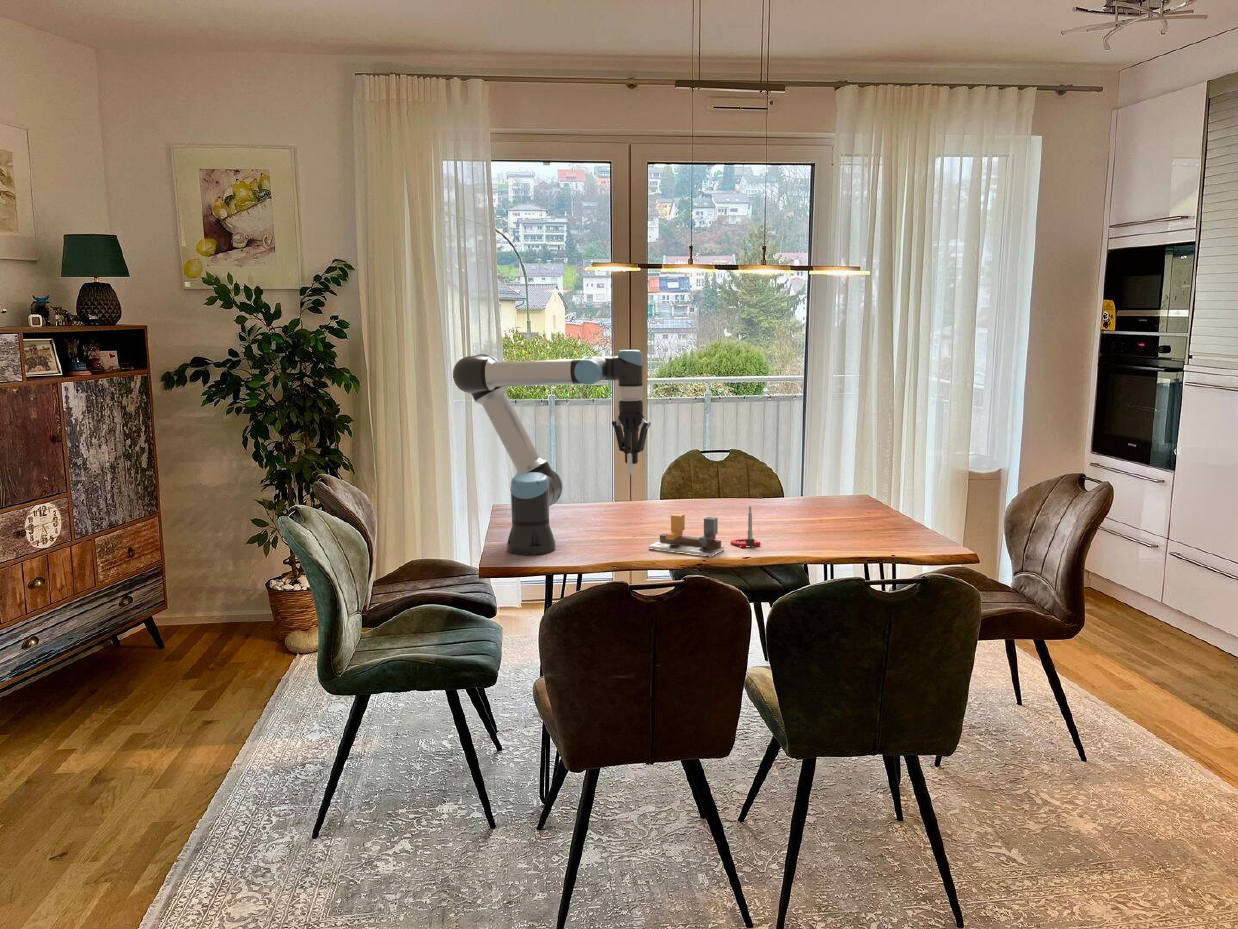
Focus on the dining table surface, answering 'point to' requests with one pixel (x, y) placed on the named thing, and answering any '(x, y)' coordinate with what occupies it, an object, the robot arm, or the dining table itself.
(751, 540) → the tow hook
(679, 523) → the orange toy chair
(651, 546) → the bolt plate
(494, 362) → the robot arm
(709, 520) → the fixed leg
